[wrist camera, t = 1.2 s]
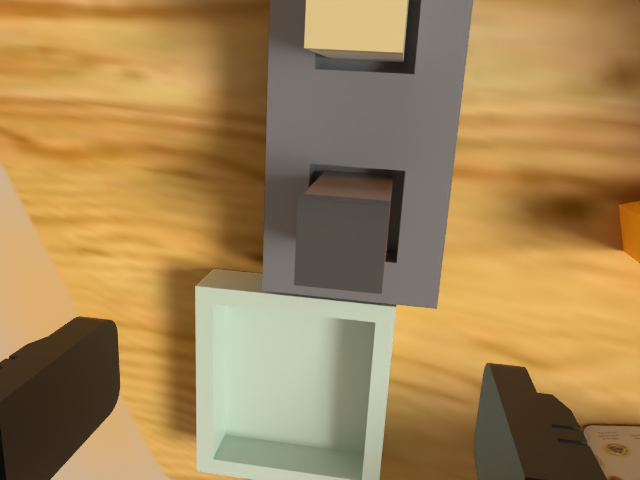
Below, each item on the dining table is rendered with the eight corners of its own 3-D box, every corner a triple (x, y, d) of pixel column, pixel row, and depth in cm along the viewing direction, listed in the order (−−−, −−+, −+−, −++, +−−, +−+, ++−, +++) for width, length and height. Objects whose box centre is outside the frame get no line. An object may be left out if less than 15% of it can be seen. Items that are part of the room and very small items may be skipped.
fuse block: (290, -72, 28) (272, -97, 24) (472, -68, 27) (484, -94, 23) (278, 267, 33) (262, 290, 29) (432, 282, 32) (436, 308, 28)
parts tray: (213, 268, 33) (195, 285, 31) (396, 287, 32) (396, 307, 29) (213, 440, 37) (196, 471, 34) (379, 463, 35) (377, 498, 32)
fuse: (336, -18, 26) (308, -61, 19) (410, -16, 26) (412, -59, 18) (332, 59, 27) (304, 48, 20) (403, 62, 27) (402, 52, 19)
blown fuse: (325, 170, 29) (297, 199, 21) (393, 175, 28) (389, 206, 21) (322, 234, 30) (294, 285, 22) (387, 240, 29) (381, 294, 22)
